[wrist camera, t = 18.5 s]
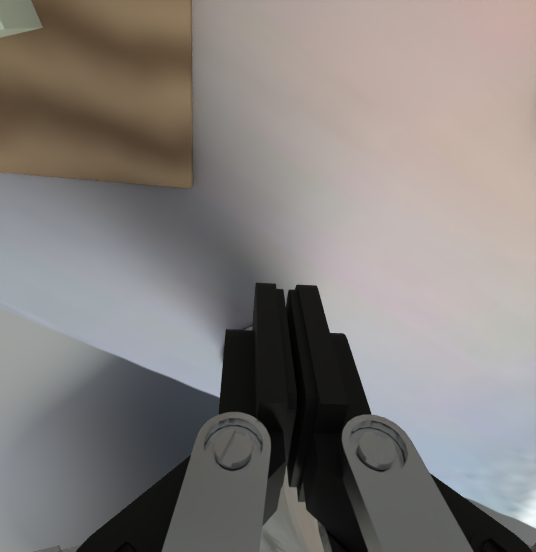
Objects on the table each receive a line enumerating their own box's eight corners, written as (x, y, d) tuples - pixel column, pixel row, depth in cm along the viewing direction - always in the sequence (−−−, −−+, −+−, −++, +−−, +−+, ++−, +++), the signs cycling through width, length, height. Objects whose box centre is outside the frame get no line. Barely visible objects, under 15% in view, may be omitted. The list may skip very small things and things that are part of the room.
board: (192, 183, 34) (191, 188, 33) (-66, 161, 32) (-76, 165, 31) (190, -175, 22) (188, -184, 21) (-225, -247, 20) (-250, -261, 19)
